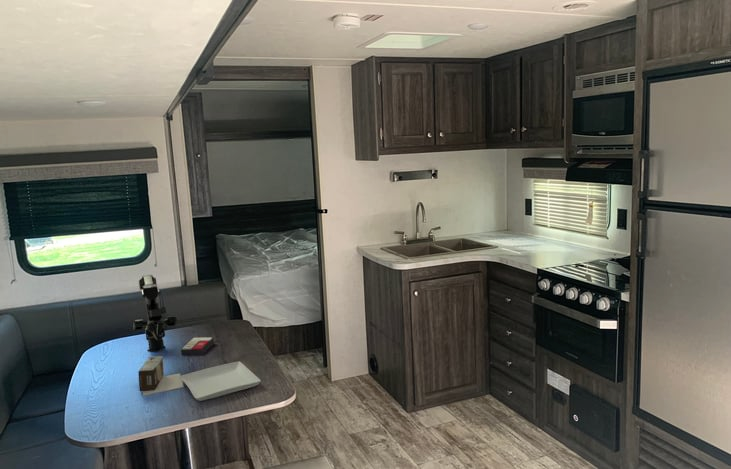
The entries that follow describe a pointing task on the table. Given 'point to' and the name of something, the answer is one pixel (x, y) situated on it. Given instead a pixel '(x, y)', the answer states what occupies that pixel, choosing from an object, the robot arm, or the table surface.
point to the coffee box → (151, 373)
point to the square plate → (219, 380)
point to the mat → (167, 384)
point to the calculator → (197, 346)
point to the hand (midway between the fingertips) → (157, 339)
